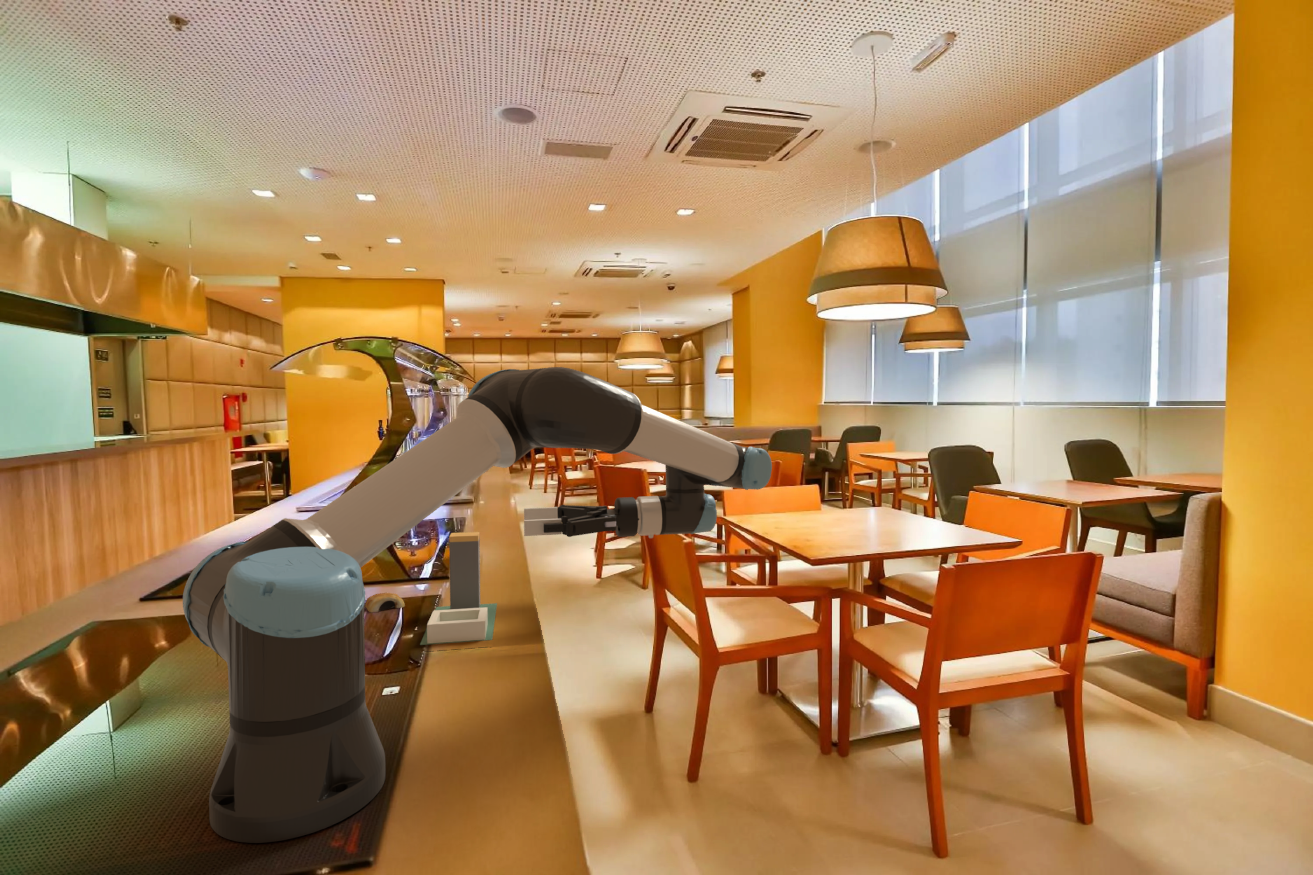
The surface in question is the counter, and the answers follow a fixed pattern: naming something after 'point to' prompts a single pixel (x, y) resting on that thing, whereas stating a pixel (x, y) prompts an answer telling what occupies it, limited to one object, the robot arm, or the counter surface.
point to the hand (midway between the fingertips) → (523, 521)
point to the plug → (464, 570)
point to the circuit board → (489, 636)
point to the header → (457, 625)
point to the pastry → (383, 602)
